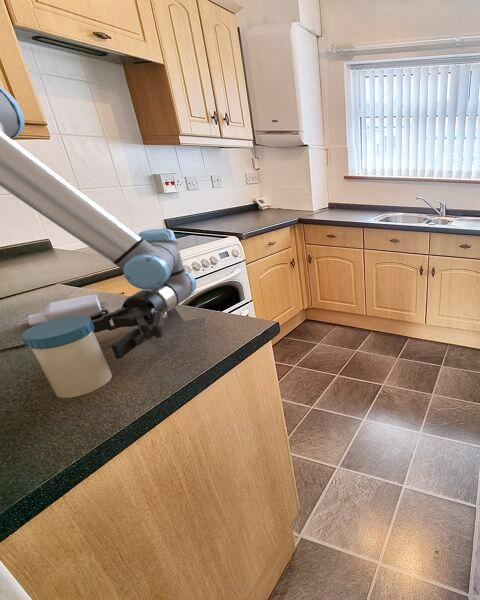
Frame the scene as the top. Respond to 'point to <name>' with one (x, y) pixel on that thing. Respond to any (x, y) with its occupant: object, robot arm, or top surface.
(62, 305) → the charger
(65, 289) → the top surface
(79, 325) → the lid
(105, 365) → the jar
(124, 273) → the robot arm
